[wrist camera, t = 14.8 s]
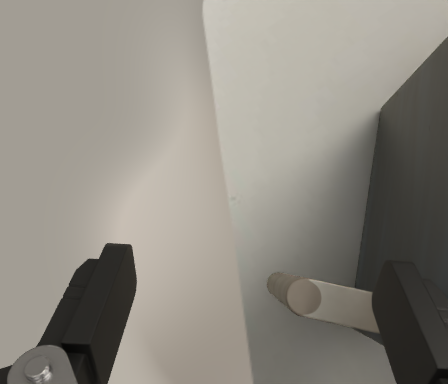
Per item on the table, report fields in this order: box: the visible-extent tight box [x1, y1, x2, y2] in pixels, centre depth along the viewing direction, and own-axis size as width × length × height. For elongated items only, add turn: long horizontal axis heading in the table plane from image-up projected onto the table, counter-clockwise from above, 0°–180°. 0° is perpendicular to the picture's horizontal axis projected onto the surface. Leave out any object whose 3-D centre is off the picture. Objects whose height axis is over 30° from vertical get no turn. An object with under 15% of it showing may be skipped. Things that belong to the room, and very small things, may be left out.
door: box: [267, 37, 448, 346], centre depth 22 cm, size 8×18×16 cm, turn 168°
